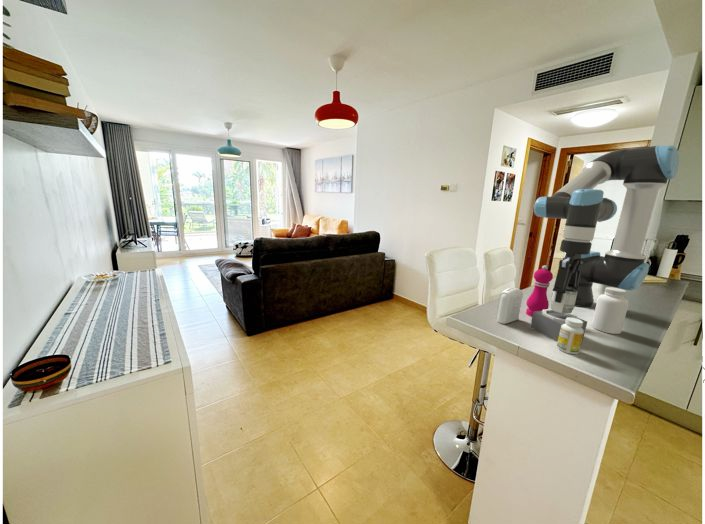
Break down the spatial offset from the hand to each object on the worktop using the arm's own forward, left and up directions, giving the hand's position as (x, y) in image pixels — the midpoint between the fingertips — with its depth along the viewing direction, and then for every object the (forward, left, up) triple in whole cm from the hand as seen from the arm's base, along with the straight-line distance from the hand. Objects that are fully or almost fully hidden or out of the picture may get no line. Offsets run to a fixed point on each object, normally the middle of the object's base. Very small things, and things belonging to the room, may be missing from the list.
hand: (561, 309), depth 93 cm
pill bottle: (-22, +1, -9) cm, 23 cm away
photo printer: (+9, -12, -9) cm, 17 cm away
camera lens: (0, 0, 0) cm, 0 cm away
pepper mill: (-7, -14, -9) cm, 18 cm away
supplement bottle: (+7, +9, -9) cm, 15 cm away
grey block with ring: (0, 0, -9) cm, 9 cm away
